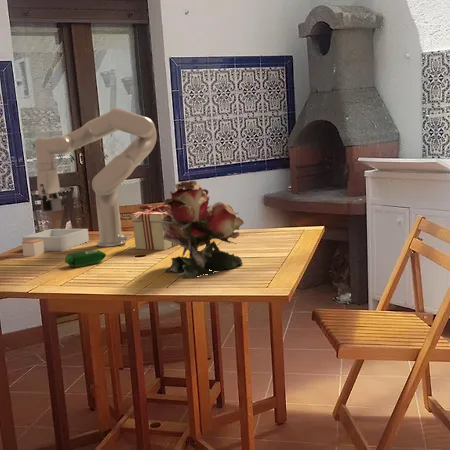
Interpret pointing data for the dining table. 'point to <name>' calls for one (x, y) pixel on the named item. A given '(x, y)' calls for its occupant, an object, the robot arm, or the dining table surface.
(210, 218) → the rose bouquet
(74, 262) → the snack package
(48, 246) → the tote
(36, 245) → the orange and beige cube
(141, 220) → the gift box
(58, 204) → the block
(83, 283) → the dining table surface
